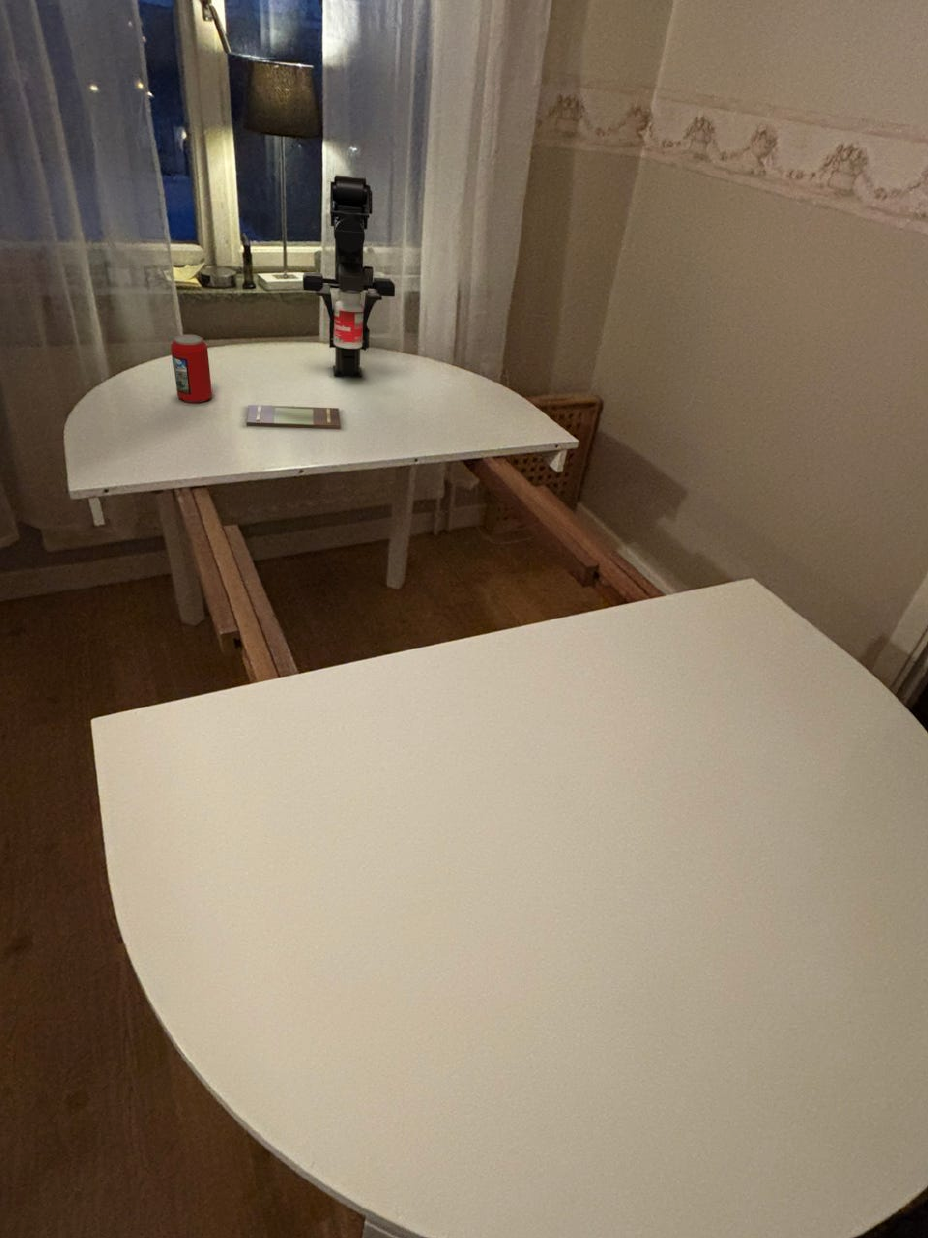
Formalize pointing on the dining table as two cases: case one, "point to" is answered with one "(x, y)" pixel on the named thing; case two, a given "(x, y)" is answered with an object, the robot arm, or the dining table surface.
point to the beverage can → (191, 368)
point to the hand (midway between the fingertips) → (348, 328)
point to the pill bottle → (348, 320)
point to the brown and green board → (293, 417)
